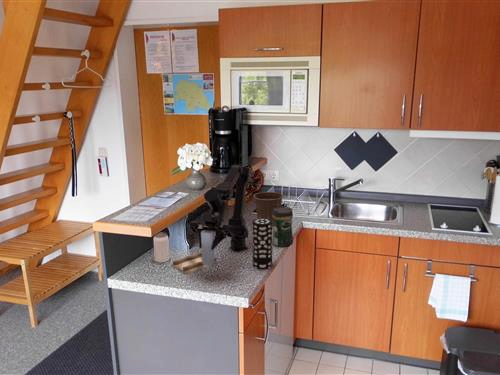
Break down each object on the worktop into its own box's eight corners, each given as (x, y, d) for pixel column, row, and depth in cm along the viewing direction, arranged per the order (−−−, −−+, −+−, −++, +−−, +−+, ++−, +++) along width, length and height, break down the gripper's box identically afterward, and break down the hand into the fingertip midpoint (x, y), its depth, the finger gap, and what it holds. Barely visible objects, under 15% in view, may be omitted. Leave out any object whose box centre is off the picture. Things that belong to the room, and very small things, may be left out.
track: (202, 256, 192) (202, 251, 191) (217, 263, 184) (216, 258, 183) (172, 266, 182) (171, 260, 181) (185, 274, 174) (185, 268, 173)
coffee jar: (287, 240, 211) (287, 204, 206) (295, 245, 204) (295, 208, 199) (270, 243, 207) (270, 206, 203) (277, 248, 200) (277, 211, 196)
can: (163, 256, 193) (161, 231, 190) (172, 259, 189) (171, 234, 186) (151, 260, 188) (150, 235, 185) (161, 264, 184) (159, 238, 181)
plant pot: (272, 230, 226) (272, 201, 222) (248, 224, 235) (247, 196, 231) (288, 222, 238) (288, 194, 234) (264, 217, 248) (264, 190, 244)
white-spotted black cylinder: (248, 265, 182) (248, 221, 177) (262, 260, 187) (262, 217, 183) (262, 271, 176) (262, 225, 171) (276, 265, 182) (276, 221, 177)
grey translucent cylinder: (209, 259, 172) (208, 229, 168) (216, 263, 168) (215, 232, 165) (199, 262, 169) (198, 231, 165) (206, 266, 165) (205, 235, 162)
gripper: (189, 202, 169) (177, 237, 162) (232, 206, 163) (221, 242, 156) (198, 215, 178) (187, 249, 171) (240, 219, 172) (230, 254, 165)
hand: (206, 248), depth 165 cm, fingers closed on grey translucent cylinder, 5 cm apart
